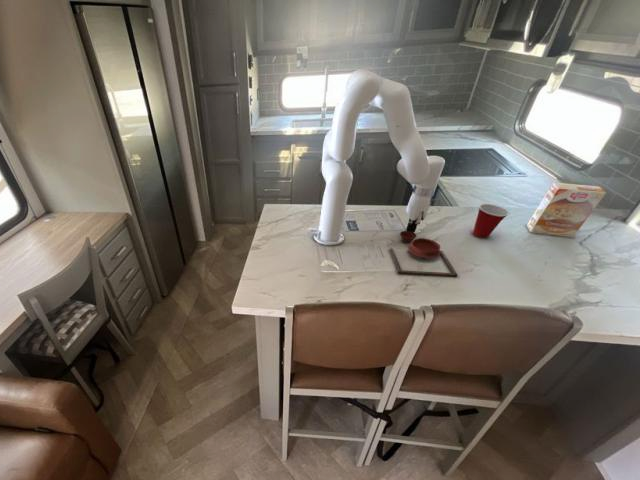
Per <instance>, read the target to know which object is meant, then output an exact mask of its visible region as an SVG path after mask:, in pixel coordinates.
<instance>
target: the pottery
mask: <svg viewBox="0 0 640 480" xmlns="http://www.w3.org/2000/svg"><path fill="white" fill-rule="evenodd" d="M399 235H400V238H401V240H402V242H403V243H407V244H408V243H410V242H411V241H412V242H411V243H410V244H409V245H408V246H407V249H408V251H409V253H411V254H412V255H414V256H416V257H418V258H421V259H435V258H438V257H441V255H440V254H441V252H440V250H441V245H440V243H438V242H437V241H435V240H432V239H430V238H429V239H428V238H424V237H423V238H422V237H421V238H417V233H415V232H414V233H413V232H410V231H406V230H402V231H400V233H399Z"/></svg>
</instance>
